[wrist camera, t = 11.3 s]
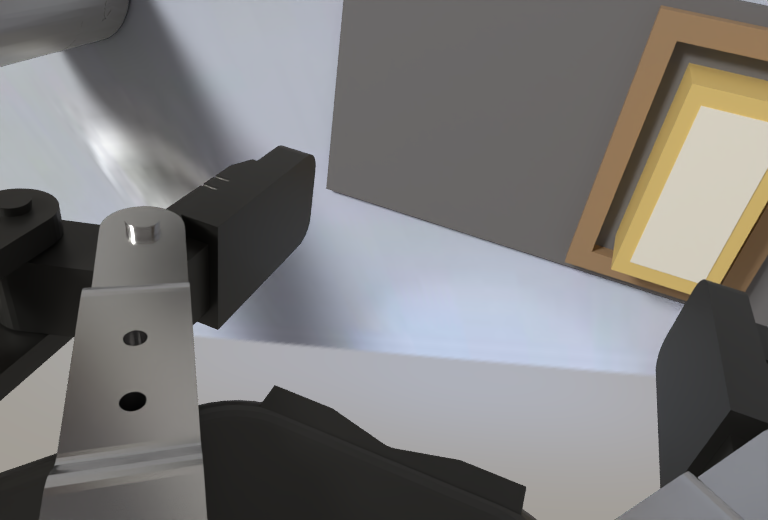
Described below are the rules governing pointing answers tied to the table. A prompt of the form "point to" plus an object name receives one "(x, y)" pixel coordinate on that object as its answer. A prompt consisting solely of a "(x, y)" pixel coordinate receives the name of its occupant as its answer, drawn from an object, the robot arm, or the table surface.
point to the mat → (530, 116)
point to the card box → (699, 183)
